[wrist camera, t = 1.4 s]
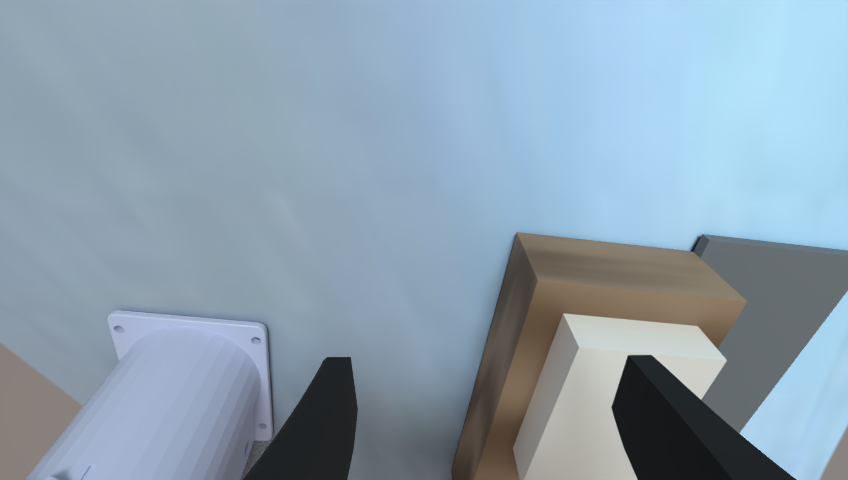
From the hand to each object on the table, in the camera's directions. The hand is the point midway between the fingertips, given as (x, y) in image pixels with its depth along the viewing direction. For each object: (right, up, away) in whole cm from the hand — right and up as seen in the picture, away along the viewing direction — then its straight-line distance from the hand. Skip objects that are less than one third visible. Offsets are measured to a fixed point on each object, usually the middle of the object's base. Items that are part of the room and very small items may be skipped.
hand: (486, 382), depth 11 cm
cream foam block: (+7, -4, +8) cm, 11 cm away
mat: (+15, -4, +14) cm, 21 cm away
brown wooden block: (+6, -5, +14) cm, 16 cm away
